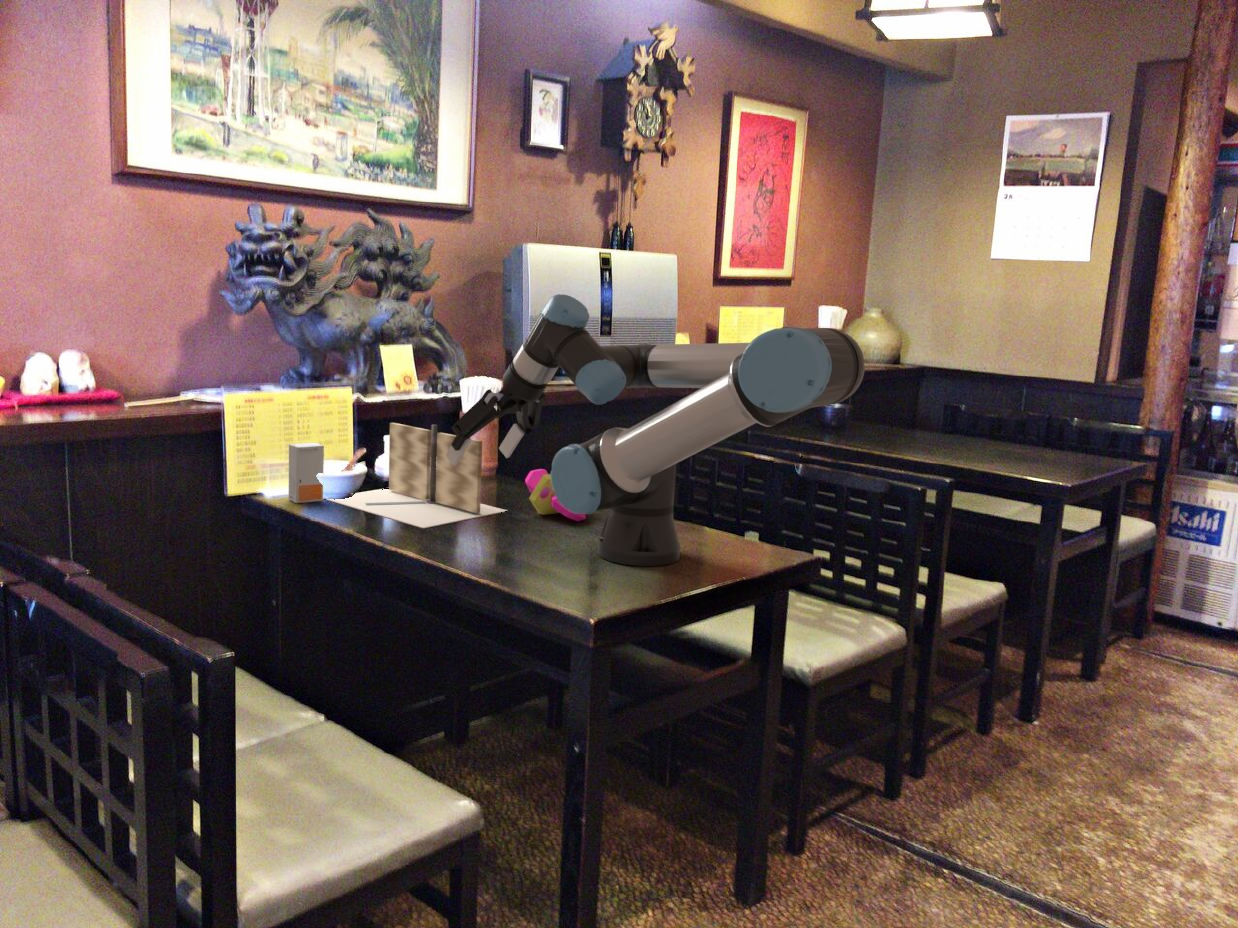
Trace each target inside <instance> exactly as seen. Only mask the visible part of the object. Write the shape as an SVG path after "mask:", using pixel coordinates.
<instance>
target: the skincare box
mask: <svg viewBox="0 0 1238 928" xmlns="http://www.w3.org/2000/svg"><path fill="white" fill-rule="evenodd" d="M324 453H325V446H324V445H322V444H320V443H318V442H304V443H303V442H302V443H291V444H289V445H288V500H289V501H291V502H293V503H294V504H301V503H303V504H304V503H314V502H323V501H324V499H323V498H324V484H323V485H322V484H321V483H320V482H319V480H318V479H317V477H316V475H317V474H318V473H323V474H324V463H325V462H324V460H325V459H324V456H325V455H324Z"/></svg>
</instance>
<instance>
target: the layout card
mask: <svg viewBox="0 0 1238 928" xmlns="http://www.w3.org/2000/svg"><path fill="white" fill-rule="evenodd" d="M382 489H383V490H382ZM428 500H430V499H428ZM325 501H328V502H331V503H335V504H337V505H342V506H345V507H349V508H352V509H356V510H359V511H362V512H366V513H369V514H372V515H376V516H378V517H382V518H386V519H389V520H392V521H396V522H400V523H403V524H406V525H410V526H414V527H416V528H420V529H429V528H434V527H437V526H443V525H447V524H452V523H453V524H454V523H457V522H463V521H468V520H472V519H478V518H483V517H486V516H491V515H498V514H500V513H501V512H502V513H506V512H505V511H507V512H508V509H503V508H499V507H495V506H493V505H489V504H484V503H481V502H480V513H474V512H470V511H466V510H462V509H459V508H455V507H451V506H447V505H444V504H440V503H427V500H425V499H421V498H418V497H414V496H410V495H406V494H403V493H399V492H395V491H392V490H389V489H384V488H379V489H373V490H367V491H361V492H359V491H358V492H355V494H354V495H353V496H352V497H349V498H345V499H335V500H334V499H326V500H325ZM502 513H501V514H502Z"/></svg>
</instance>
